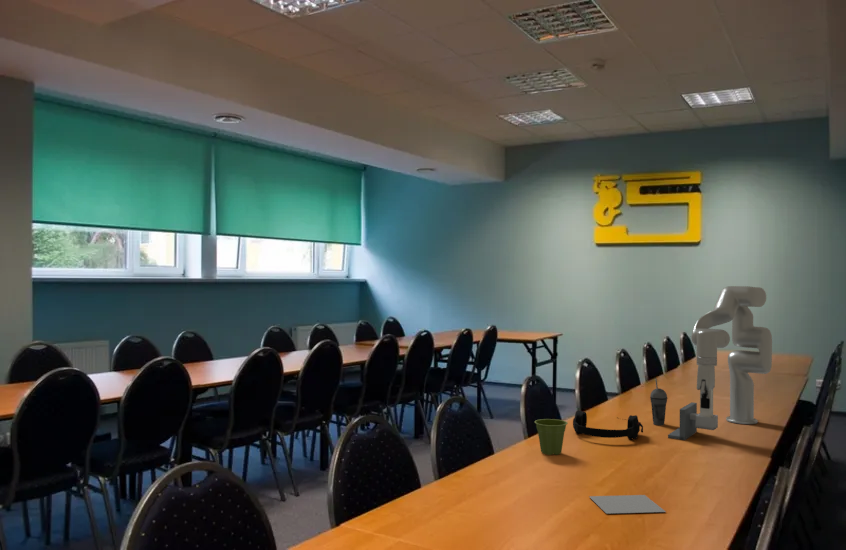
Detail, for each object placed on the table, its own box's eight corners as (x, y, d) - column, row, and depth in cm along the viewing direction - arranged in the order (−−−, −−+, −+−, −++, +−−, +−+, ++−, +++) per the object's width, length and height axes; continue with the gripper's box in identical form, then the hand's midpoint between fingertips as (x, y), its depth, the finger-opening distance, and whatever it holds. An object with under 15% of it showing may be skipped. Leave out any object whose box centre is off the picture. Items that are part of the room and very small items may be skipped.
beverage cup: (668, 426, 284) (668, 379, 284) (651, 425, 286) (651, 379, 286) (666, 422, 291) (666, 377, 291) (648, 422, 293) (648, 376, 293)
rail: (702, 418, 266) (702, 384, 266) (713, 420, 264) (713, 385, 264) (700, 420, 263) (700, 385, 263) (710, 421, 261) (710, 386, 261)
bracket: (680, 429, 278) (680, 401, 278) (720, 435, 269) (721, 405, 269) (667, 437, 264) (667, 407, 264) (710, 443, 254) (710, 412, 254)
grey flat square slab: (578, 488, 201) (578, 486, 201) (657, 486, 203) (657, 484, 203) (606, 516, 178) (606, 513, 178) (695, 513, 180) (695, 510, 180)
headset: (630, 428, 281) (630, 408, 281) (655, 443, 255) (655, 421, 255) (565, 429, 280) (565, 408, 280) (584, 444, 253) (584, 421, 254)
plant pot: (569, 450, 244) (569, 419, 244) (565, 458, 233) (565, 426, 233) (537, 447, 248) (537, 417, 248) (531, 455, 237) (531, 424, 237)
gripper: (702, 358, 273) (701, 403, 273) (691, 362, 259) (691, 409, 259) (721, 360, 268) (721, 405, 268) (711, 364, 255) (711, 411, 255)
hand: (706, 406), depth 264 cm, fingers closed on rail, 4 cm apart
